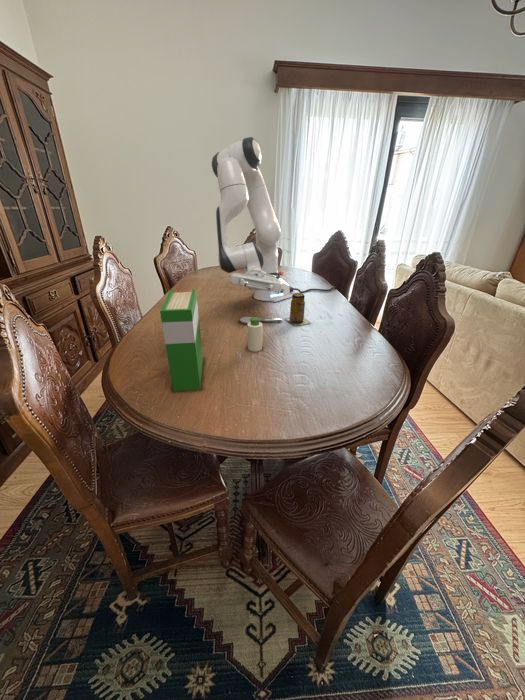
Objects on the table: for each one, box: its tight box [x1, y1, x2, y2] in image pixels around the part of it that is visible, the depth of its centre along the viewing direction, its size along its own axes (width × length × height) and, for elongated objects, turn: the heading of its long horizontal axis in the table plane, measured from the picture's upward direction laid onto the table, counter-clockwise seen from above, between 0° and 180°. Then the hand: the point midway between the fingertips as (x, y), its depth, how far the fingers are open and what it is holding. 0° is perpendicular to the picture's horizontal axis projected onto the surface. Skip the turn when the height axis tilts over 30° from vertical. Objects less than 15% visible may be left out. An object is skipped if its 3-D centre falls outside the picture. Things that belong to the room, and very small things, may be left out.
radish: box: [246, 316, 263, 352], centre depth 101 cm, size 5×5×12 cm
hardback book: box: [159, 288, 204, 392], centre depth 83 cm, size 18×7×24 cm, turn 8°
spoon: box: [239, 316, 283, 325], centre depth 125 cm, size 18×6×1 cm, turn 90°
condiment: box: [285, 292, 310, 326], centre depth 124 cm, size 7×8×12 cm
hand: (257, 286), depth 106 cm, fingers open, 8 cm apart
